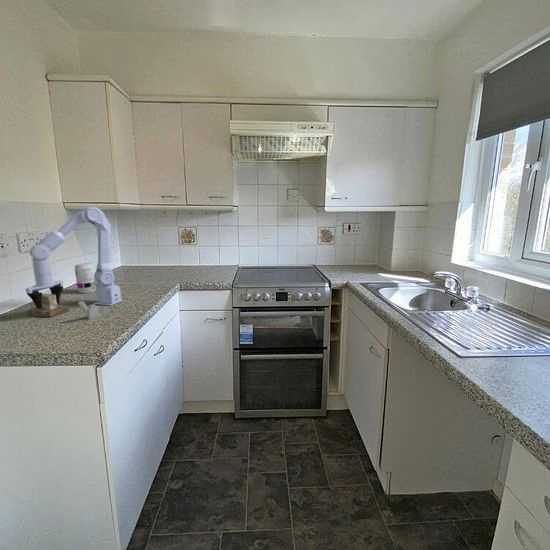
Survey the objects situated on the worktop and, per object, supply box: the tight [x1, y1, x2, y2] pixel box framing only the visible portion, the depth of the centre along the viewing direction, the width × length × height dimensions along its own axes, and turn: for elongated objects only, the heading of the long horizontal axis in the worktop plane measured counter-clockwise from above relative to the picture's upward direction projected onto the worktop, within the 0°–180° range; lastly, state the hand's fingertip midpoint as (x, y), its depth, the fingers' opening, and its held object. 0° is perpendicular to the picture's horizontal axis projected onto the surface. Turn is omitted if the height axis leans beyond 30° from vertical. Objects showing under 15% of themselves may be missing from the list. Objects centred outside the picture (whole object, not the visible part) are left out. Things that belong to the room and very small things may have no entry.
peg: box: [41, 293, 58, 310], centre depth 130 cm, size 3×6×8 cm, turn 75°
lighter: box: [77, 300, 100, 320], centre depth 124 cm, size 7×2×8 cm, turn 156°
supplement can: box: [74, 262, 97, 294], centre depth 164 cm, size 8×8×15 cm
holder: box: [28, 304, 70, 318], centre depth 131 cm, size 11×8×2 cm
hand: (48, 305), depth 130 cm, fingers open, 7 cm apart
